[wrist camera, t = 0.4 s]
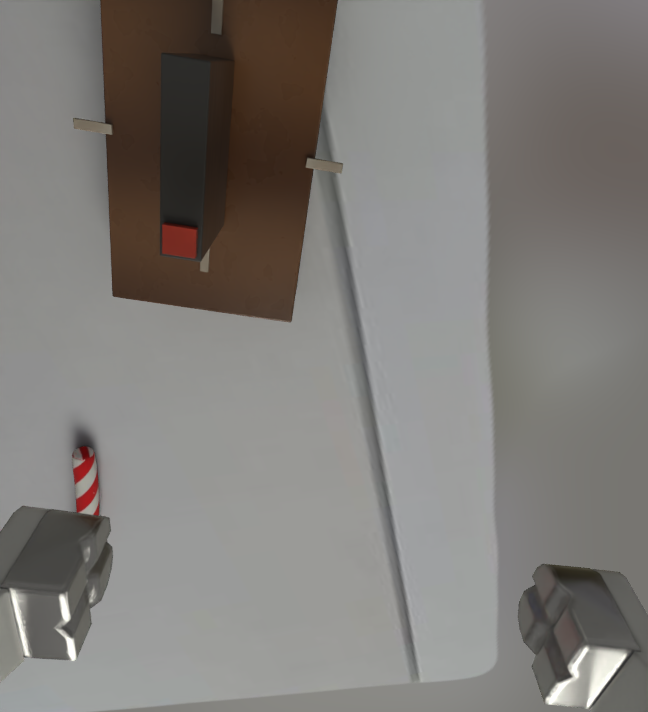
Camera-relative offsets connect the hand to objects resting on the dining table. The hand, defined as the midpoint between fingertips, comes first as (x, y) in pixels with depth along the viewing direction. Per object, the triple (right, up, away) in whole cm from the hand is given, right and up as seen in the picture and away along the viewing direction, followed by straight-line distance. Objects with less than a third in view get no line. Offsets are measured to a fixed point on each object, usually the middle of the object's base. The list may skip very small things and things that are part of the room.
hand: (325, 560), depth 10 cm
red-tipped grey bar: (-4, +12, +10) cm, 16 cm away
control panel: (-4, +13, +13) cm, 19 cm away
